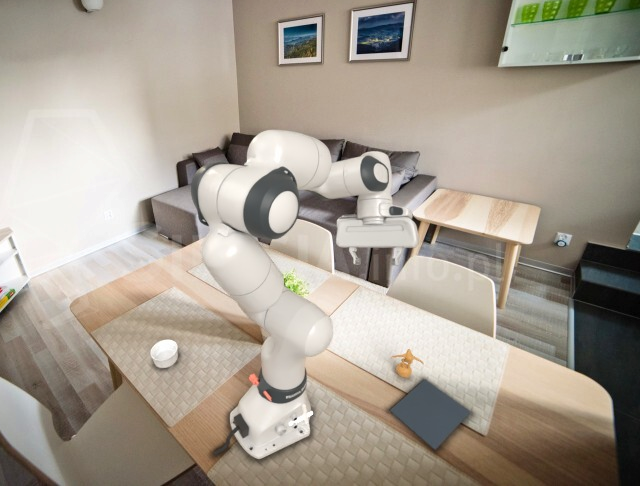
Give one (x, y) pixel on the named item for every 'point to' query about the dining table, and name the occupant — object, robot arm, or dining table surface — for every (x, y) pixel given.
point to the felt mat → (430, 413)
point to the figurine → (405, 368)
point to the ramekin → (164, 353)
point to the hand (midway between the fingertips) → (375, 265)
